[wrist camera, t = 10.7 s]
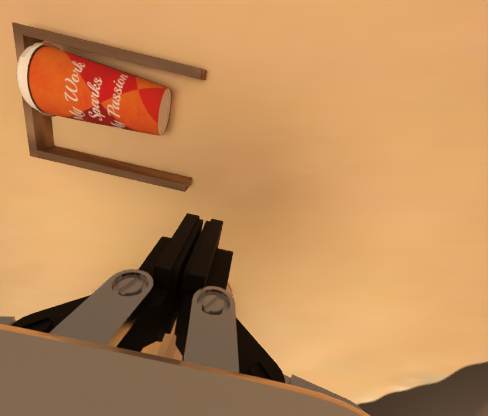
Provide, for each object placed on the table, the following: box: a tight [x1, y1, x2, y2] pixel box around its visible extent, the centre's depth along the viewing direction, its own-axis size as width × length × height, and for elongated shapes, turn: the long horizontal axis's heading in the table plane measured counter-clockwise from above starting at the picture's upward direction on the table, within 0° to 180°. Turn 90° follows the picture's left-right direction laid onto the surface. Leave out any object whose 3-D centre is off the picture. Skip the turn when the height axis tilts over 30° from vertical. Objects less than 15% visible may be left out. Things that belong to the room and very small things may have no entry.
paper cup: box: [17, 41, 171, 135], centre depth 30 cm, size 8×8×14 cm
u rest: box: [12, 22, 207, 192], centre depth 33 cm, size 15×21×3 cm
